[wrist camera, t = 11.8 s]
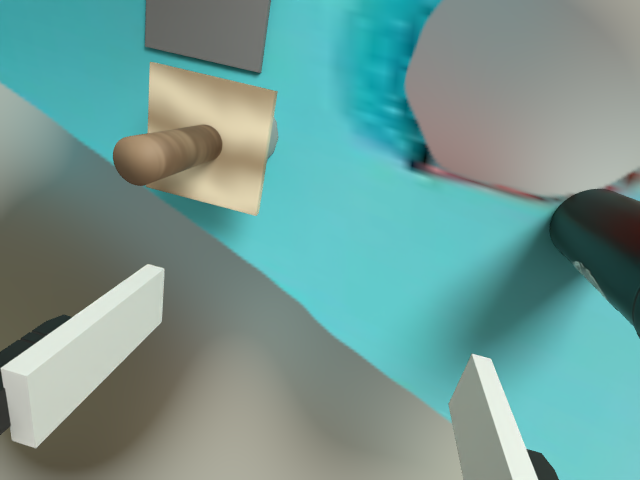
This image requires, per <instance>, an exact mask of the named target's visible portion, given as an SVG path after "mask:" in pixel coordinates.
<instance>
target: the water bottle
mask: <svg viewBox="0 0 640 480" xmlns="http://www.w3.org/2000/svg"><path fill="white" fill-rule="evenodd" d="M550 236H551V240H552V242H553V244H554V245H555V247H556V248H557V249H558V250H559V251H560V252H561V253H562V254H563V255H564V256H565V257H566V258H567V259H568V260H569V261H570V262H571V263H572V264H573V265H574V266H575V268H576V269H577V270H578V271H579V272H580V273H581V274H582V275H584V277H585V278H586V279H587V280H588V281H589V282H590V283H591V284H592V285H593V286H594V287H595V288H596V289H597V290H598V291H599V292H600V293H601V294H602V295H603V296H604V297H605V298H606V300H607V301H608V302H609V303H610V304H611V305H613V307H614V308H615V309H616V310H617V311H619V312H620V313H621V314H622V315H623V316H624V317H625V318H626V319H627V320H628V321H629V322H630V323H631V324H632V325H633V326H634V328H635V330H636V332H637V335H638V336H639V338H640V201H637V200H635V199H632V198H629V197H626V196H624V195H621V194H618V193H616V192H613V191H610V190H605V189H591V190H586V191H583V192H580V193H577V194H575V195H573V196H571V197H570V198H568V199H567V200H566V201H564V202H563V203H562V204H561V205H560V206H559V207H558V209H557V210H556V212H555V213H554V215H553V217H552V220H551V223H550Z"/></svg>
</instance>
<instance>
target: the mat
mask: <svg viewBox="0 0 640 480" xmlns="http://www.w3.org/2000/svg"><path fill="white" fill-rule="evenodd" d="M270 3H271V0H146V31H145V47H150V48H154V49H158V50H163V51H167V52H171V53H176V54H180V55H184V56H189V57H193V58H198V59H202V60H206V61H211V62H215V63H219V64H224V65H228V66H233V67H237V68H241V69H246V70H250V71H254V72H259V73H261V70H262V62H263V55H264V47H265V40H266V33H267V25H268V18H269V10H270Z"/></svg>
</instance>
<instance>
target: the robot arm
mask: <svg viewBox="0 0 640 480" xmlns="http://www.w3.org/2000/svg"><path fill="white" fill-rule="evenodd" d="M163 287H164V268H160V267H156V266H153V265H149V264H147V265H146V266H144V267H143V268H141V269H140V270H139V271H137V272H136V273H134V274H133V275H132V276H130V277H129V278H127V279H126V280H124V281H123V282H122V283H120V284H119V285H118V286H116V287H115V288H113V289H112V290H110V291H109V292H108V293H106V294H105V295H103V296H102V297H100V298H99V299H98V300H96V301H95V302H94V303H92V304H91V305H89V306H88V307H87V308H85V309H84V310H82V311H81V312H79V313H78V314H76V315H75V316H74V317H70V316H67V315H62V316H59V317H56V318H54V319H51V320H48V321H46V322H44V323H43V324H41V325H40V326H38V327H37V328H35V329H34V330H33V331H32V332H31V333H30V332H29V333H28V334H26V335H25V336H24V337H22V338H21V340H17V341H16V342H14V343H13V344H11V345H10V346H8V347H7V348H5V349H4V350H2V351H1V352H0V435H1V434H2V433H3V432H4V431H5V430H6V429H7V428H9V427H10V431H11V437H12V441H15V442H18V443H21V444H24V445H27V446H30V447H33V448H37V447H38V446H39V445H40V444H41V442H43V440H44V439H46V438H47V436H49V434H50V433H52V432H53V430H54V429H56V427H57V426H58V425H59V424H60V423H61V422H62V421H63V420H64V419H65V418H66V417H67V416H68V415H69V414H70V413H71V412H72V411H73V410H74V409H75V408H76V407H77V406H78V405H79V404H80V403H81V402H82V401H83V400H84V399H85V398H86V397H87V396H88V395H89V394H90V393H91V392H92V391H93V390H94V389H95V388H96V387H97V386H98V385H99V384H100V383H101V382H102V381H103V380H104V379H105V378H106V377H107V376H108V375H109V374H110V373H111V372H112V371H113V370H114V369H115V368H116V367H117V366H118V365H119V364H120V363H121V362H122V361H123V360H124V359H125V358H126V357H127V356H128V355H129V354H130V353H131V352H132V351H133V350H134V349H135V348H136V347H137V346H138V345H139V344H140V343H141V342H142V341H143V340H144V339H145V338H146V337H147V336H148V335H149V334H150V333H151V332H152V331H153V330H154V329H155V328H156V327H157V326H158V325H159V324H160V323H161V322H162V306H163ZM449 409H450V414H451V419H452V424H453V429H454V434H455V439H456V444H457V449H458V454H459V460H460V465H461V470H462V475H463V480H559V479H558V477H557V474H556V472H555V470H554V469H553V467H552V466H551V465H550V464H549V462H548V461H547V460H546V458H545V457H544V456H543V455H542V453H539V452H535V451H532V450H528V449H526V447H525V445H524V442H523V440H522V437H521V434H520V432H519V429H518V427H517V424H516V422H515V419H514V416H513V414H512V411H511V409H510V406H509V404H508V401H507V399H506V396H505V393H504V391H503V388H502V386H501V383H500V381H499V378H498V375H497V373H496V370H495V368H494V365H493V363H492V360H491V359H490V358H486V357H482V356H479V355H475V354H471V356H470V359H469V361H468V363H467V365H466V367H465V369H464V372H463V374H462V376H461V378H460V380H459V383H458V385H457V387H456V389H455V391H454V393H453V396H452V398H451V400H450V402H449Z"/></svg>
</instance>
